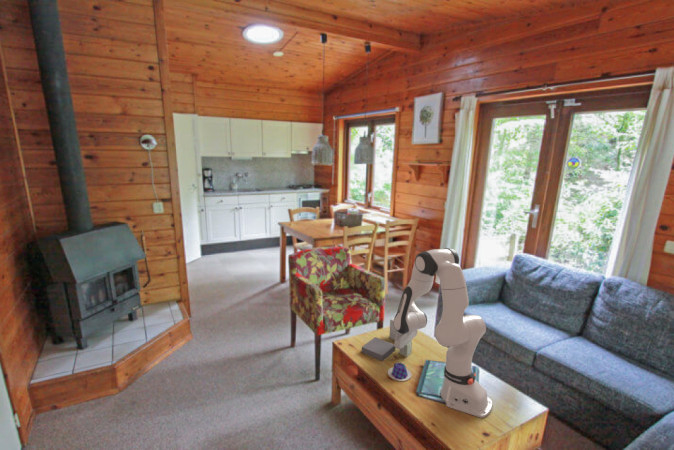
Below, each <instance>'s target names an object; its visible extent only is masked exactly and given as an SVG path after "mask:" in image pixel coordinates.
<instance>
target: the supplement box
mask: <svg viewBox="0 0 674 450" xmlns="http://www.w3.org/2000/svg"><path fill="white" fill-rule="evenodd" d="M393 321H394V317H392V318H390V320H389V338H390V339H391V340H393V341H395V337H396V335H397V334H398V331H396V329H395V328H394V325H393Z"/></svg>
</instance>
